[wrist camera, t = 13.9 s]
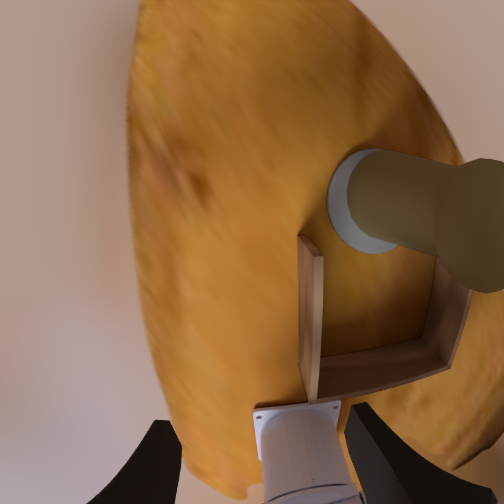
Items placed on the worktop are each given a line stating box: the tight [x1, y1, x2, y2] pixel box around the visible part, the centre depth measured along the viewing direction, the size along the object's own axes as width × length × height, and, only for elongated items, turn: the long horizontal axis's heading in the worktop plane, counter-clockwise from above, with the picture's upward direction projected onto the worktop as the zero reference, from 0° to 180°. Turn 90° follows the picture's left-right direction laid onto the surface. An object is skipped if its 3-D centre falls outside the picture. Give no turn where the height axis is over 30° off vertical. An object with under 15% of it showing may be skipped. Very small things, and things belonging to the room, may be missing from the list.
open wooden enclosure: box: [297, 235, 473, 405], centre depth 17 cm, size 10×12×4 cm
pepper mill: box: [347, 150, 504, 293], centre depth 11 cm, size 6×6×11 cm
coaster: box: [327, 149, 399, 254], centre depth 17 cm, size 7×7×1 cm
